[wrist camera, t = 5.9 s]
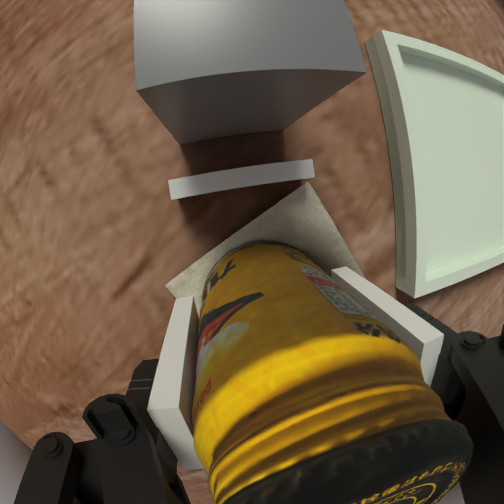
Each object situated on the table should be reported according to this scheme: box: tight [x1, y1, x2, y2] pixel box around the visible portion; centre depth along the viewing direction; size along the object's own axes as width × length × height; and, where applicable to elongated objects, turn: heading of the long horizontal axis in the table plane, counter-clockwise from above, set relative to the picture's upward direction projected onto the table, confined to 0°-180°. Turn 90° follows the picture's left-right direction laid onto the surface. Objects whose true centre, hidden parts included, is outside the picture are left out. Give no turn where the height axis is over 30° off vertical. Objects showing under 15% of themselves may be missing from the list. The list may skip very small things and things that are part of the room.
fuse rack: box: [134, 0, 367, 200], centre depth 11 cm, size 29×6×8 cm, turn 9°
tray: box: [365, 30, 504, 298], centre depth 14 cm, size 15×15×2 cm
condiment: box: [165, 182, 474, 504], centre depth 8 cm, size 7×8×12 cm
